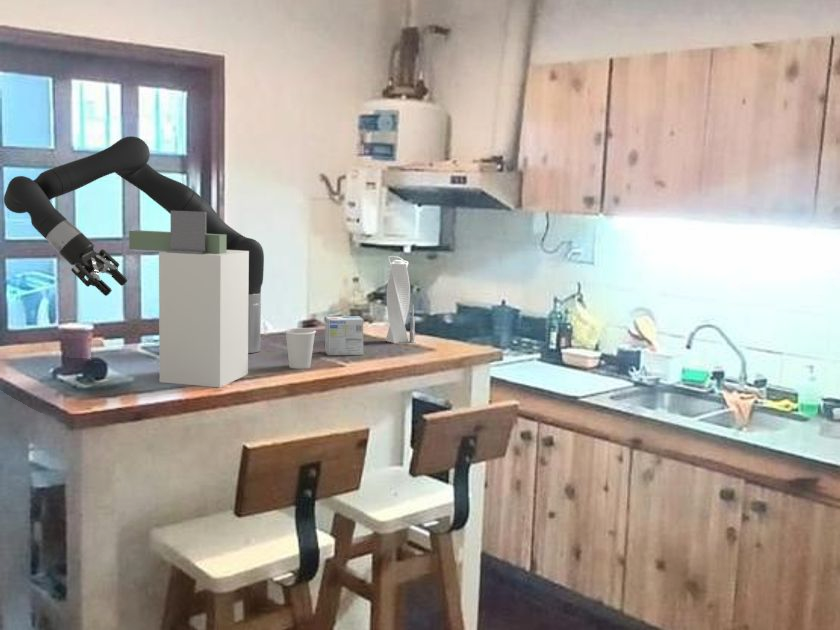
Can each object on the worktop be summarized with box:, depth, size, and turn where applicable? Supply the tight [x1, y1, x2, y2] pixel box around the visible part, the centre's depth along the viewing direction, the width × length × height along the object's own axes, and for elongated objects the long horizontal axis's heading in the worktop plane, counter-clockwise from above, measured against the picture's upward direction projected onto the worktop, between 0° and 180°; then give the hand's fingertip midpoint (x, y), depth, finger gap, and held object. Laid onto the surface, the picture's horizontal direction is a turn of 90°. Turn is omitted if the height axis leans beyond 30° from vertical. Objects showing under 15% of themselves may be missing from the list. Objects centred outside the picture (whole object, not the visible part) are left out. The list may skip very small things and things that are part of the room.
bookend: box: [167, 211, 207, 254], centre depth 228 cm, size 3×9×10 cm, turn 77°
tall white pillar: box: [158, 250, 249, 388], centre depth 237 cm, size 17×16×32 cm
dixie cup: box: [284, 327, 317, 370], centre depth 257 cm, size 8×8×10 cm
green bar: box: [128, 229, 226, 254], centre depth 234 cm, size 4×24×4 cm, turn 77°
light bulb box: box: [324, 315, 364, 356], centre depth 280 cm, size 11×7×11 cm, turn 105°
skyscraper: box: [385, 255, 416, 346], centre depth 301 cm, size 8×8×28 cm
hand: (117, 288), depth 240 cm, fingers open, 8 cm apart
